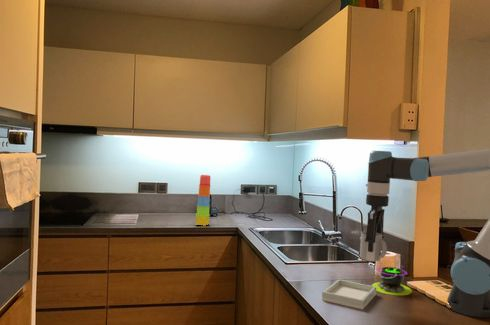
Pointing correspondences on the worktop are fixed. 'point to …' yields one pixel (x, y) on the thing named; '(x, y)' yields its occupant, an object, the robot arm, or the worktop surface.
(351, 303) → the shallow rectangular tray
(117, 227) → the worktop surface
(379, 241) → the cup
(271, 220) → the worktop surface
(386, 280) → the toy cauldron
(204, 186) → the stacking cups
